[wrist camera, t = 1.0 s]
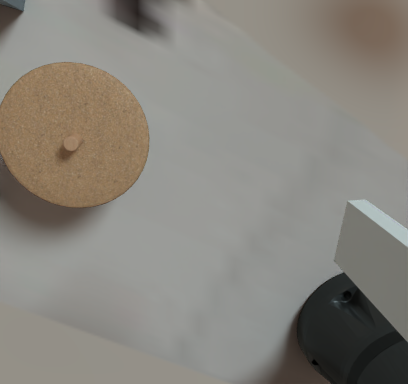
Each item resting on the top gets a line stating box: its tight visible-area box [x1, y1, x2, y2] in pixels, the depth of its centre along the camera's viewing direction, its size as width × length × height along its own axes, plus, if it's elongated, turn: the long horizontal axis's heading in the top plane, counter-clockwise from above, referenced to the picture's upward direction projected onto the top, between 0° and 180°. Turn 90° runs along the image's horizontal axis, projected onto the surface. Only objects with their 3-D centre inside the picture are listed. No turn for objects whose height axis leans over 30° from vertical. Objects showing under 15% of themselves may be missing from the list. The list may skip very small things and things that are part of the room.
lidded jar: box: [0, 62, 149, 208], centre depth 28 cm, size 11×11×9 cm
